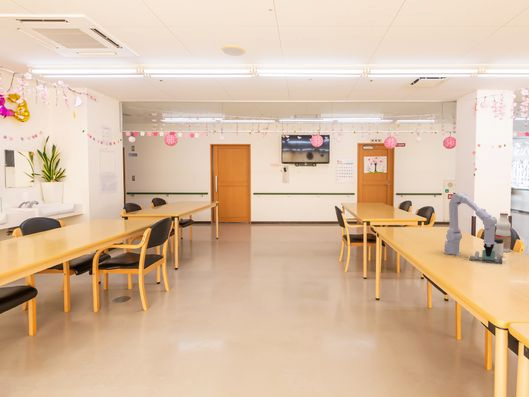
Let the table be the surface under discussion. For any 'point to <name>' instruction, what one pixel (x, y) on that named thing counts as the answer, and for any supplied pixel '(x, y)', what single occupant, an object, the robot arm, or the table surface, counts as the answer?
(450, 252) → the robot arm
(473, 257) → the vise
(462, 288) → the table surface
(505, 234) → the fruit juice
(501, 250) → the jar
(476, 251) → the jaw
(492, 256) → the block
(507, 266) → the table surface
